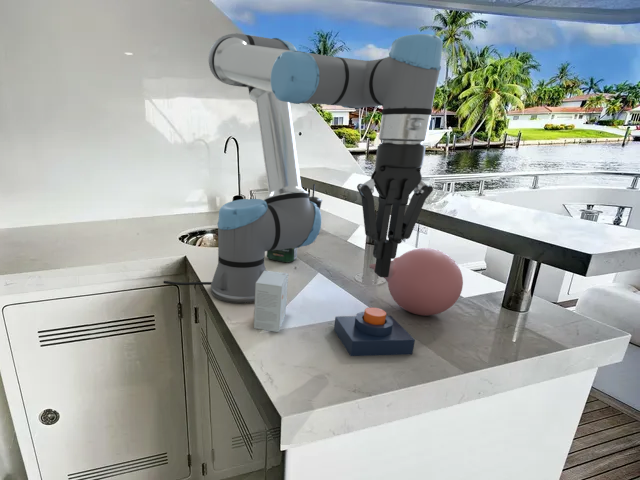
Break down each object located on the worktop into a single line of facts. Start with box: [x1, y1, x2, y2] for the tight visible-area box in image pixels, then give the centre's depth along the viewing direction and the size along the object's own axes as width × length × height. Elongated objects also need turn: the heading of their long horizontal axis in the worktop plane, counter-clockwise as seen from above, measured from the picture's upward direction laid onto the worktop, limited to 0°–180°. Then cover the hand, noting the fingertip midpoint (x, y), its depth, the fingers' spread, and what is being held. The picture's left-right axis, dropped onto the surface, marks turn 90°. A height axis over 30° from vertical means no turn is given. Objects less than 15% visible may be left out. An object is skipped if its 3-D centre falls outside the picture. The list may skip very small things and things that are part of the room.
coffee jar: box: [266, 248, 298, 263], centre depth 122 cm, size 10×8×19 cm
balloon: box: [368, 247, 464, 316], centre depth 88 cm, size 15×20×15 cm
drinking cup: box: [309, 183, 323, 210], centre depth 157 cm, size 8×8×20 cm
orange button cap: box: [363, 306, 387, 325], centre depth 74 cm, size 4×4×2 cm
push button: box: [333, 311, 416, 357], centre depth 75 cm, size 12×10×5 cm
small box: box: [253, 270, 289, 333], centre depth 81 cm, size 8×6×10 cm
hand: (381, 274), depth 71 cm, fingers closed
